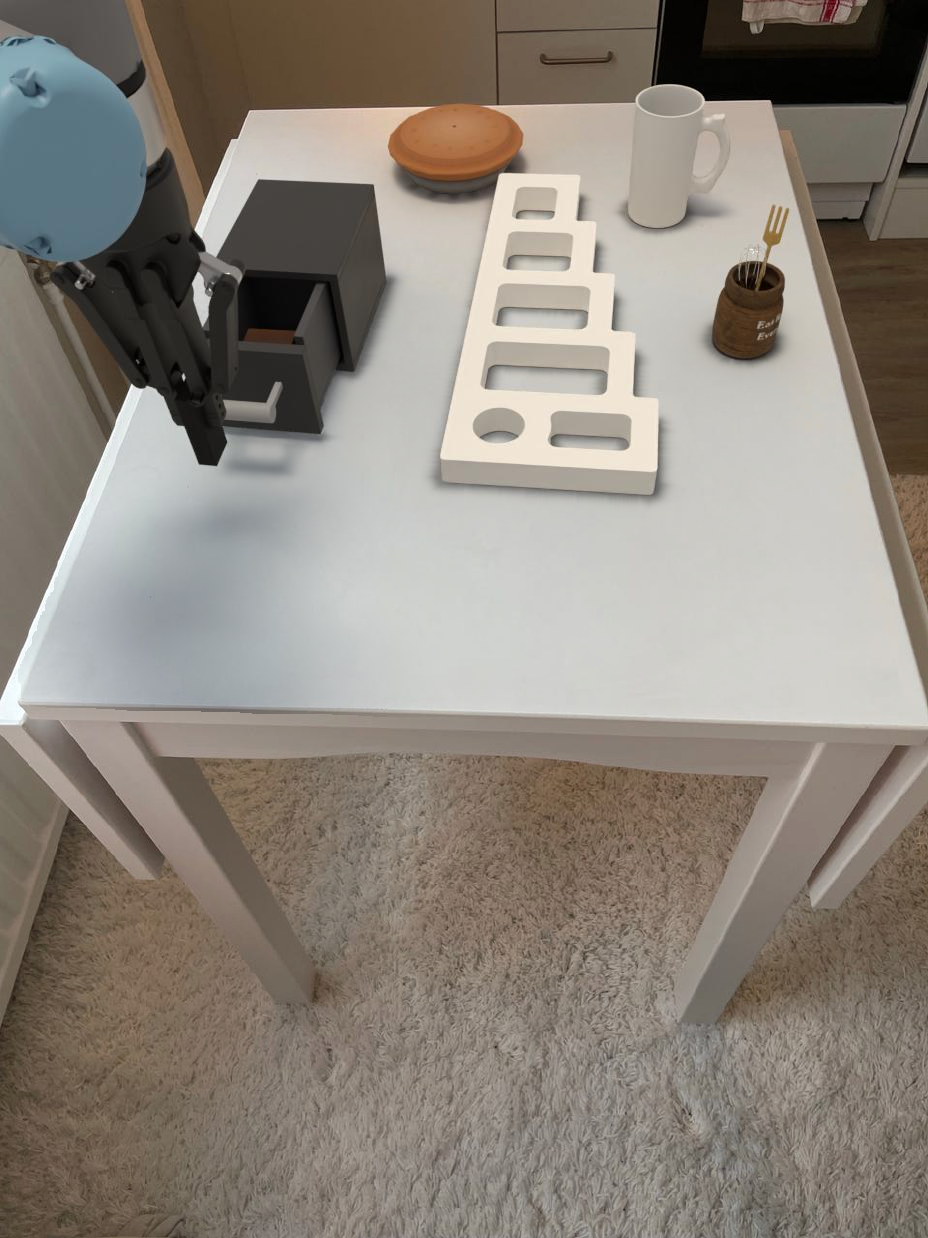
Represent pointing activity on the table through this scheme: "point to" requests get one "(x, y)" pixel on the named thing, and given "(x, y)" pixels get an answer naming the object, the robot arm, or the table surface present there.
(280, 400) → the drawer
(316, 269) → the cabinet
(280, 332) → the block
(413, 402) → the table surface
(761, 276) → the utensil holder
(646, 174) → the mug
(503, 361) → the holder
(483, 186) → the pie
